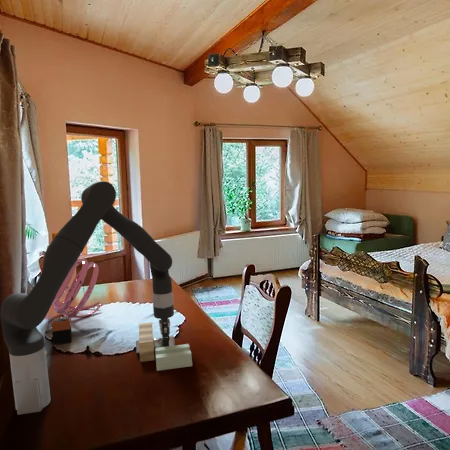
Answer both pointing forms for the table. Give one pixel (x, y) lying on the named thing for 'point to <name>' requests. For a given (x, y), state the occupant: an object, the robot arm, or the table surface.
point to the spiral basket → (76, 291)
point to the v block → (173, 357)
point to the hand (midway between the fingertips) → (165, 346)
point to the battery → (61, 330)
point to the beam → (146, 342)
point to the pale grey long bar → (157, 343)
